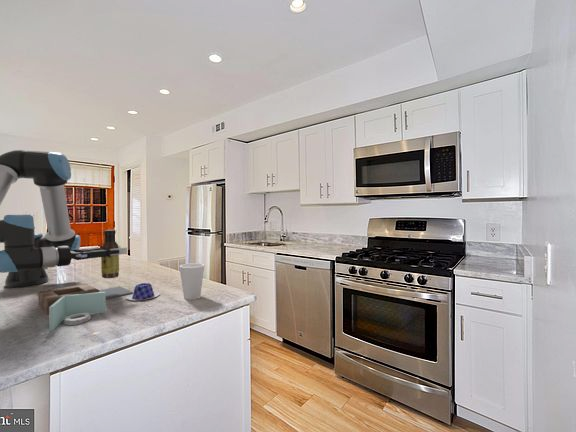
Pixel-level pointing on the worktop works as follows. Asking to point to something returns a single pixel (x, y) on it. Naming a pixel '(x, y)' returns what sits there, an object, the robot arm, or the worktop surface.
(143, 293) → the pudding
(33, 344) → the worktop surface
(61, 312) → the mint folded panel
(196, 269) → the foam cup
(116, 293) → the grey mat
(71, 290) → the walnut collar
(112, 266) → the sauce bottle
